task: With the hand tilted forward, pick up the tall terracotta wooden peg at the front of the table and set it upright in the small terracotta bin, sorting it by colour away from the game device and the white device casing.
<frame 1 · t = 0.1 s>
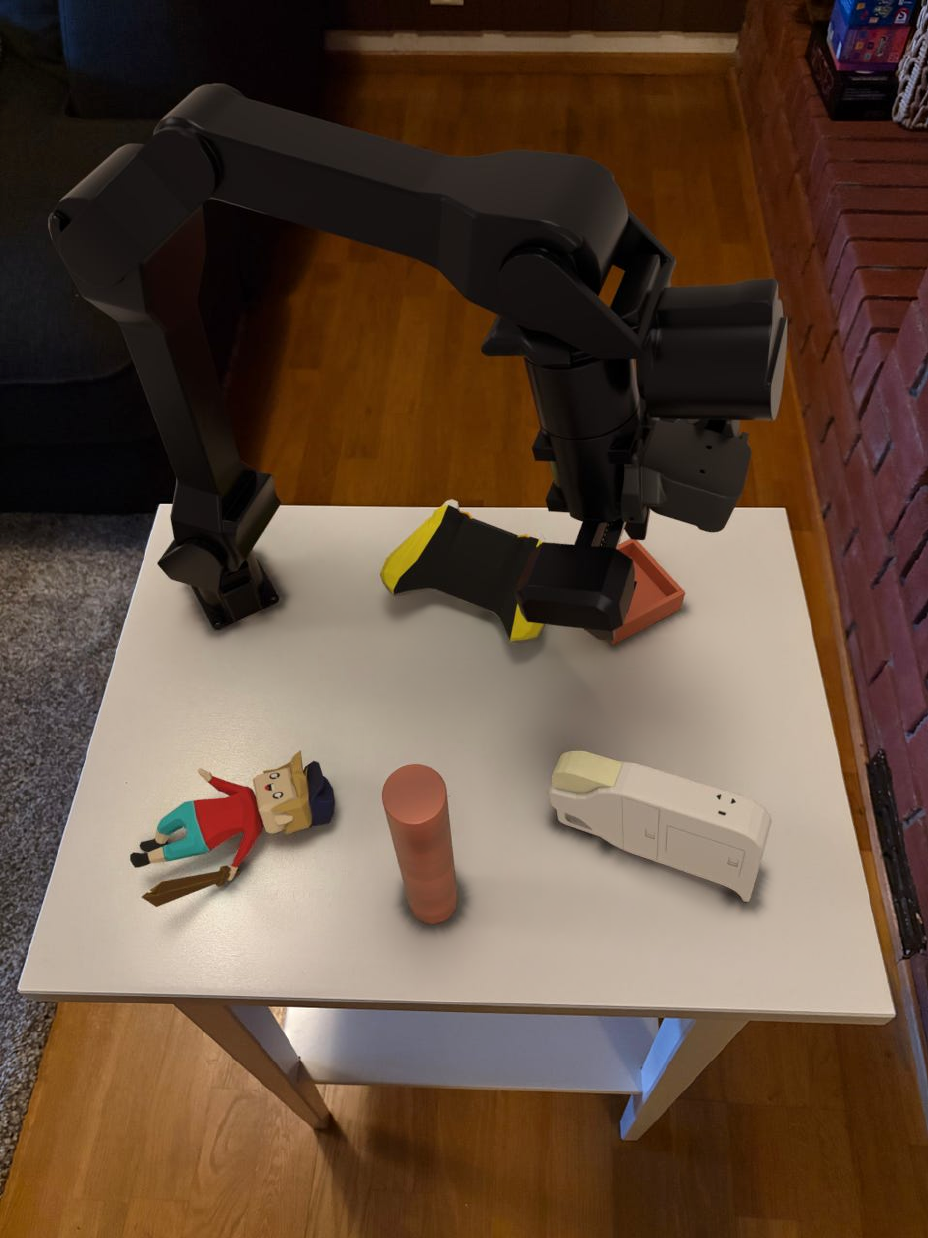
hand: (623, 586, 60), 15 cm above the table, tool pointing down, fingers open, 9 cm apart
toy: (246, 841, 67), on the table
terracotta bin: (621, 597, 79), on the table
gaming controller: (477, 579, 79), point 1 cm above the table
terracotta peg: (433, 899, 64), on the table
white device casing: (647, 846, 66), on the table
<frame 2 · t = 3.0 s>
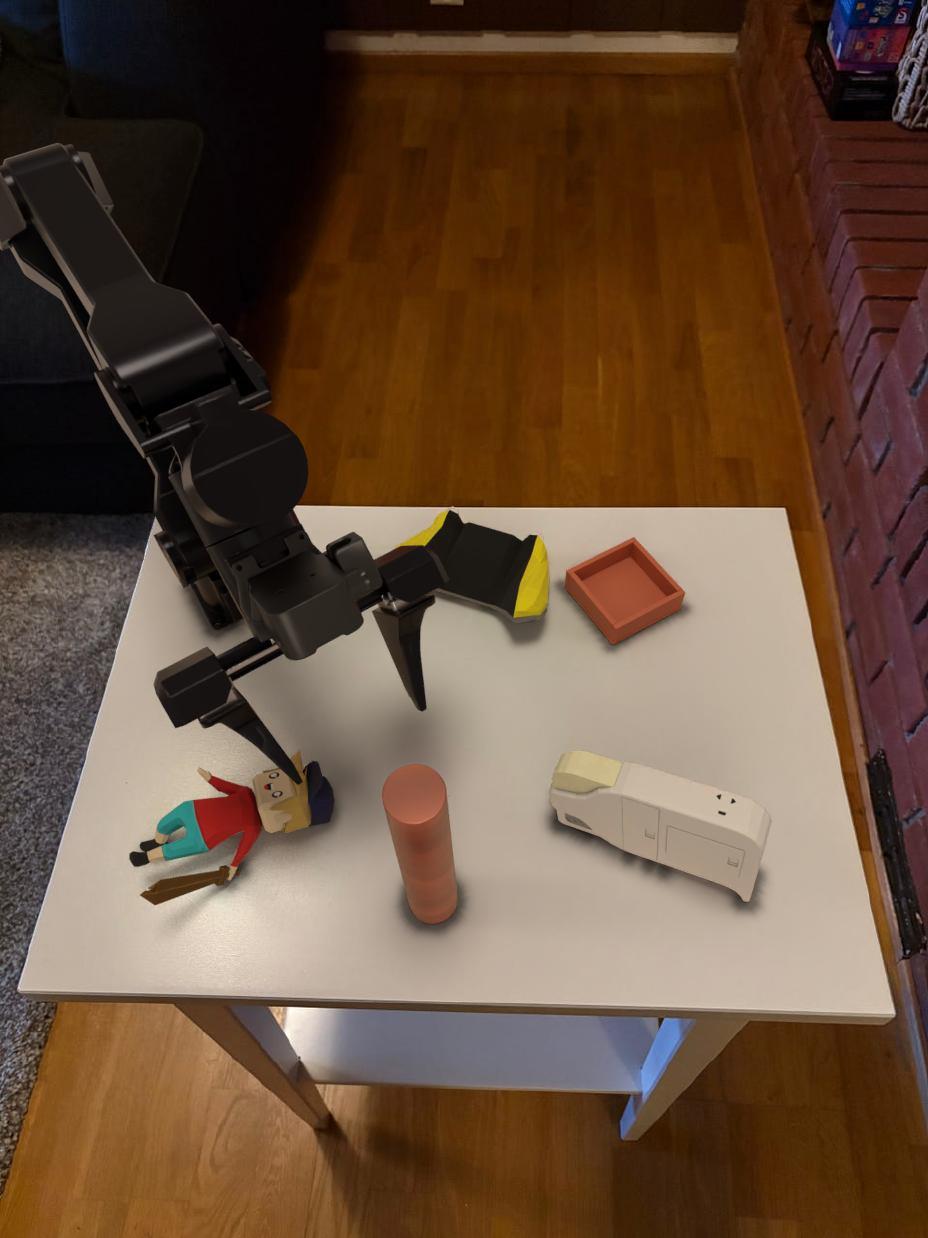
hand: (362, 745, 56), 13 cm above the table, tool tilted 45°, fingers open, 9 cm apart
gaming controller: (476, 586, 80), on the table
everything else where it was.
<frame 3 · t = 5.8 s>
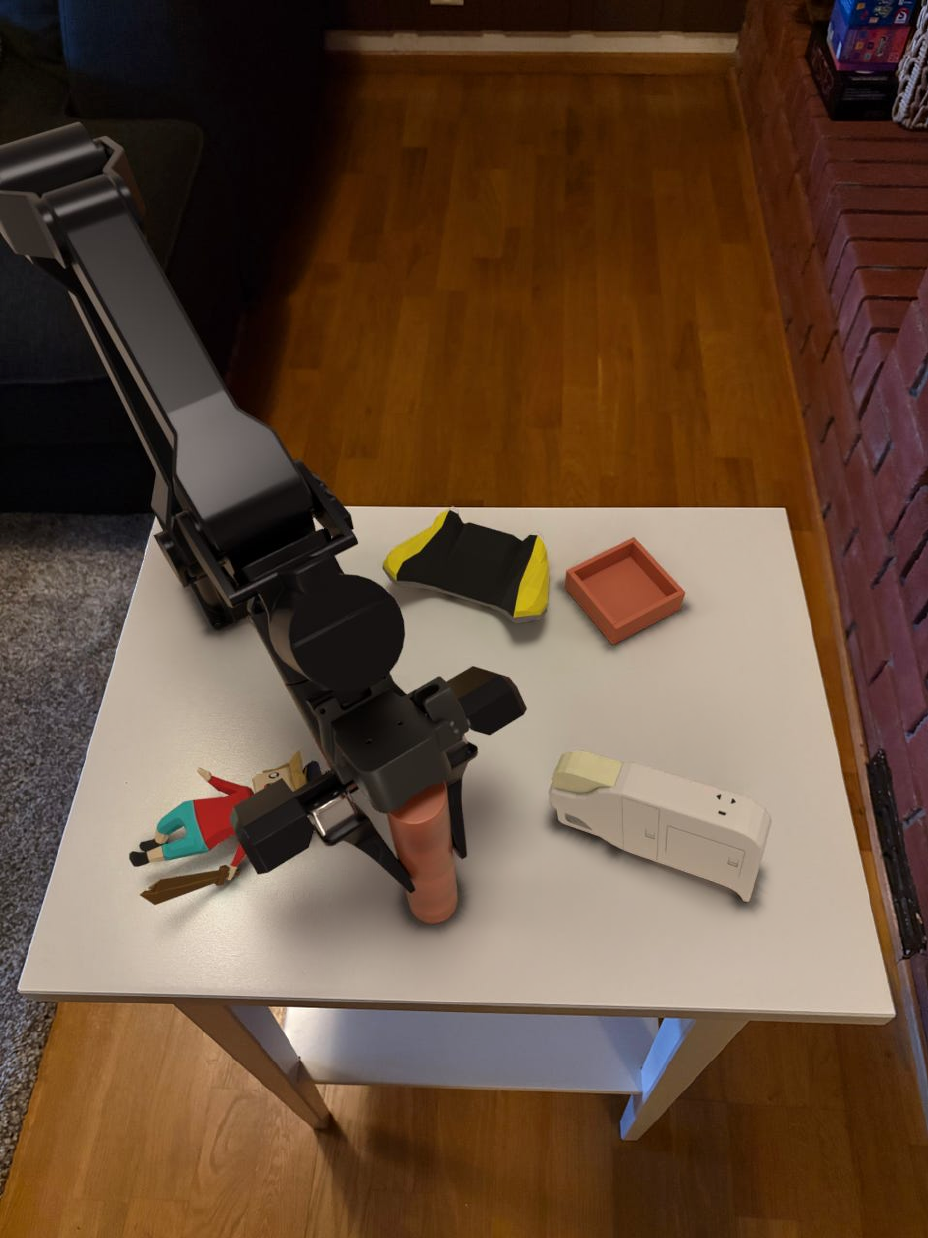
hand: (436, 873, 56), 9 cm above the table, tool tilted 45°, fingers closed on terracotta peg, 3 cm apart
terracotta peg: (433, 899, 64), on the table, touching gripper
everything else where it was.
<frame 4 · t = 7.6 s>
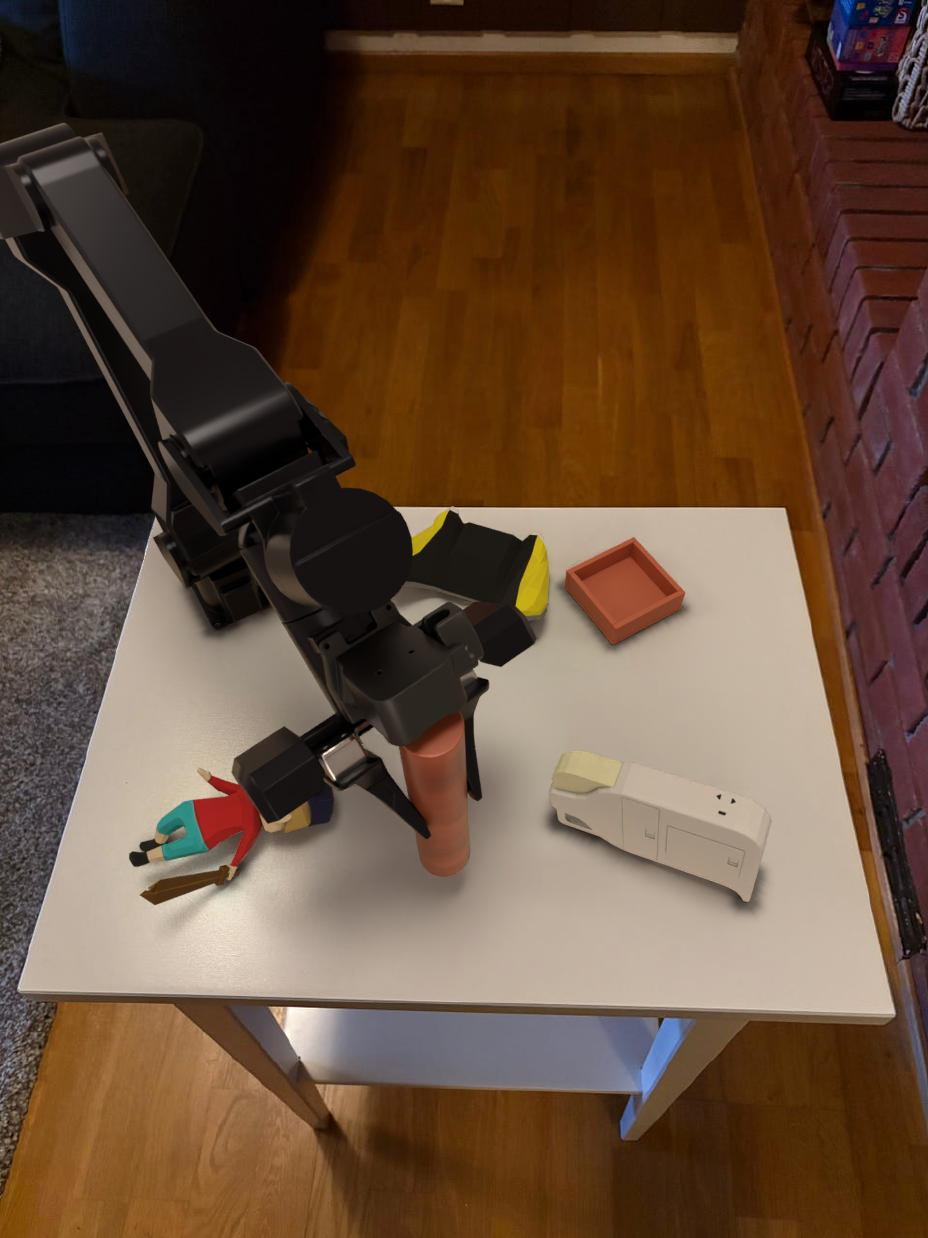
hand: (452, 817, 53), 13 cm above the table, tool tilted 45°, fingers closed on terracotta peg, 3 cm apart
terracotta peg: (444, 852, 61), point 4 cm above the table, touching gripper
everything else where it was.
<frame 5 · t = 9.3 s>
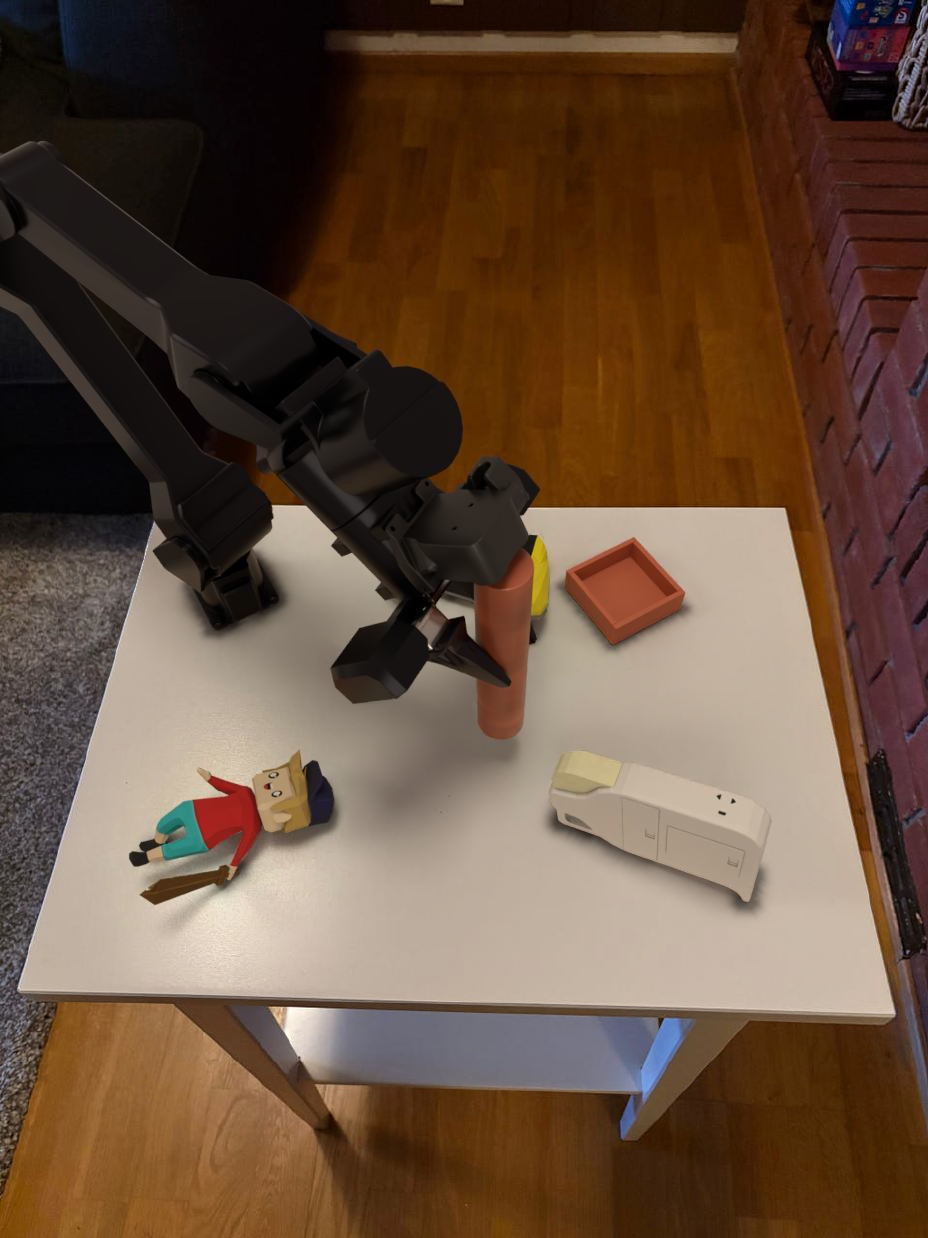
hand: (519, 664, 59), 14 cm above the table, tool tilted 45°, fingers closed on terracotta peg, 3 cm apart
terracotta peg: (500, 719, 67), point 4 cm above the table, touching gripper
everything else where it was.
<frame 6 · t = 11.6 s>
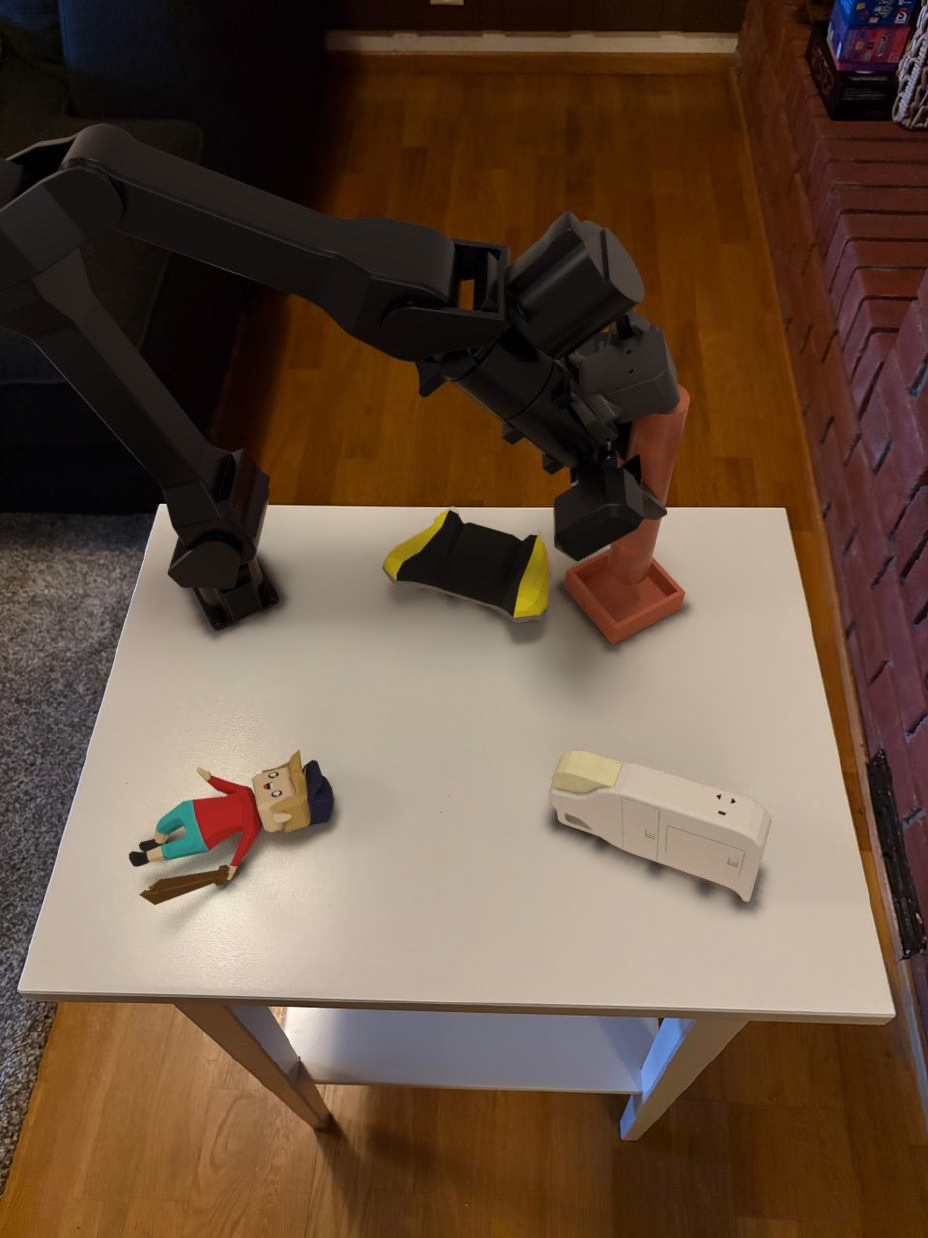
hand: (660, 497, 68), 14 cm above the table, tool tilted 45°, fingers closed on terracotta peg, 3 cm apart
terracotta peg: (627, 569, 75), point 4 cm above the table, touching gripper
everything else where it was.
when the fingers open (10 cm above the table, at t = 13.2 s): terracotta peg stays where it is, resting on terracotta bin.
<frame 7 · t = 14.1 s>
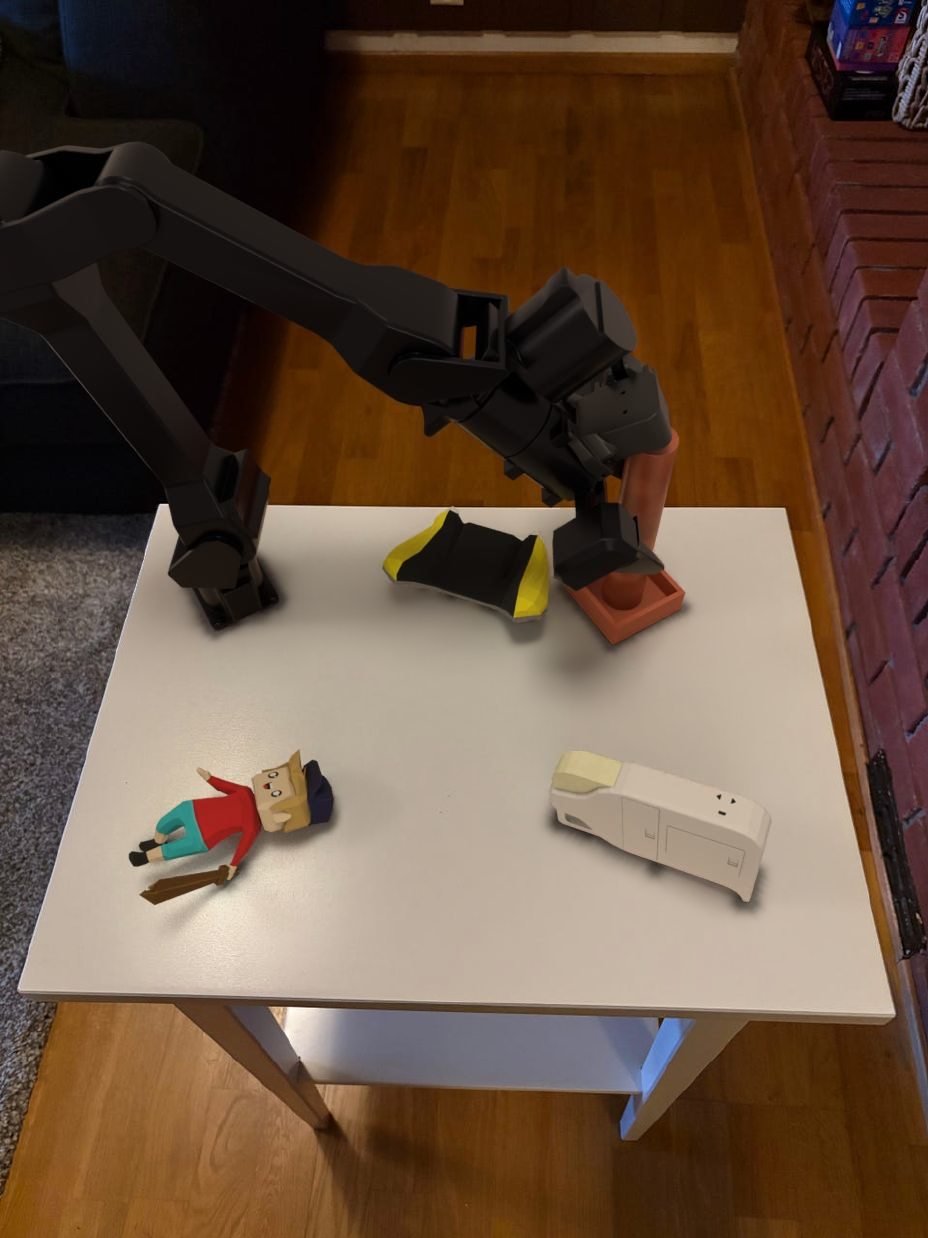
hand: (654, 525, 71), 10 cm above the table, tool tilted 45°, fingers open, 9 cm apart
terracotta peg: (622, 594, 78), resting on terracotta bin
everything else where it was.
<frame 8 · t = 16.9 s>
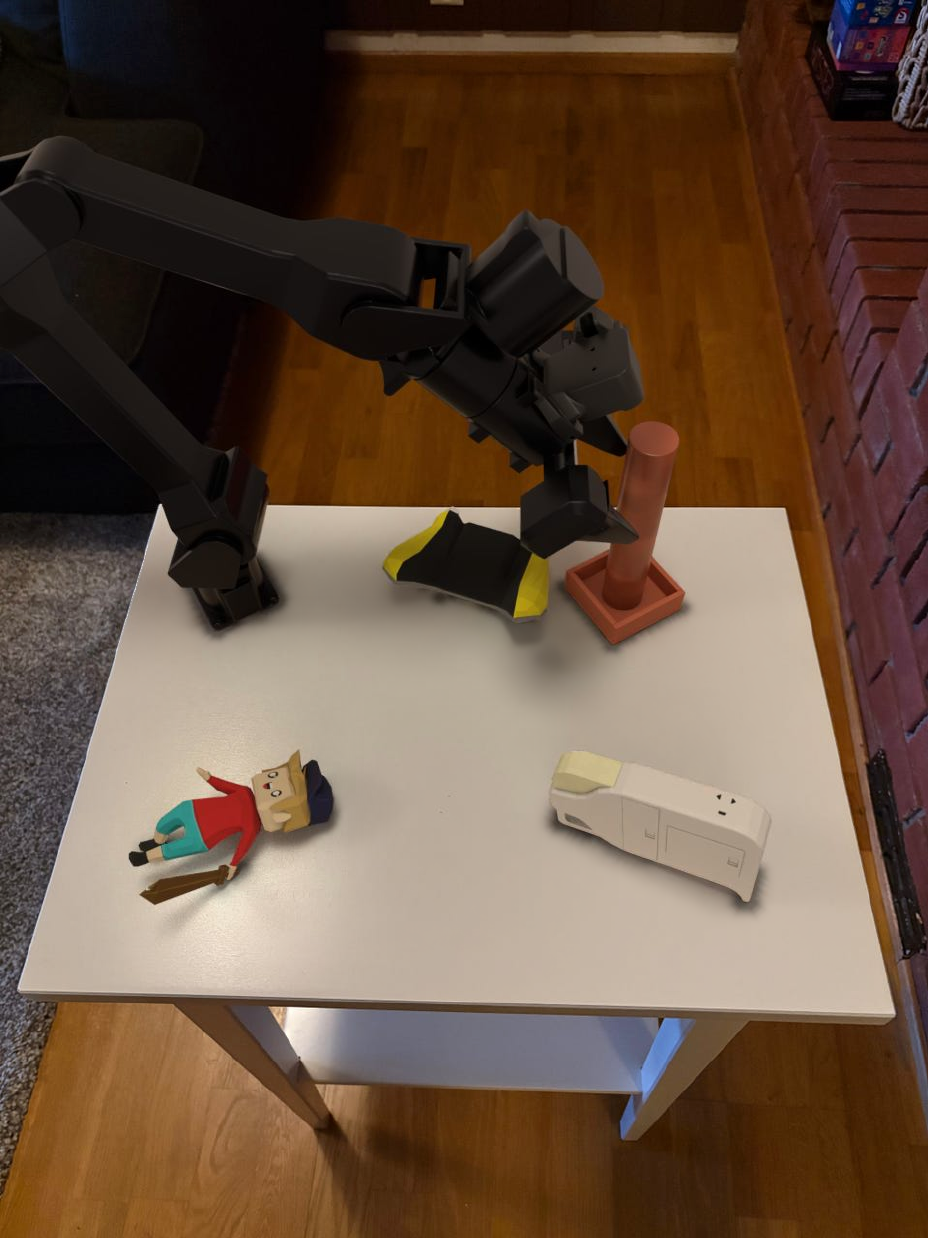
hand: (629, 494, 68), 14 cm above the table, tool tilted 45°, fingers open, 9 cm apart
nothing on the table moved.
at the end: terracotta peg 0.0 cm off-centre in the terracotta bin, point 0.5 cm above the terracotta bin's base; terracotta peg tilted 0°; the gripper is holding nothing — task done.
